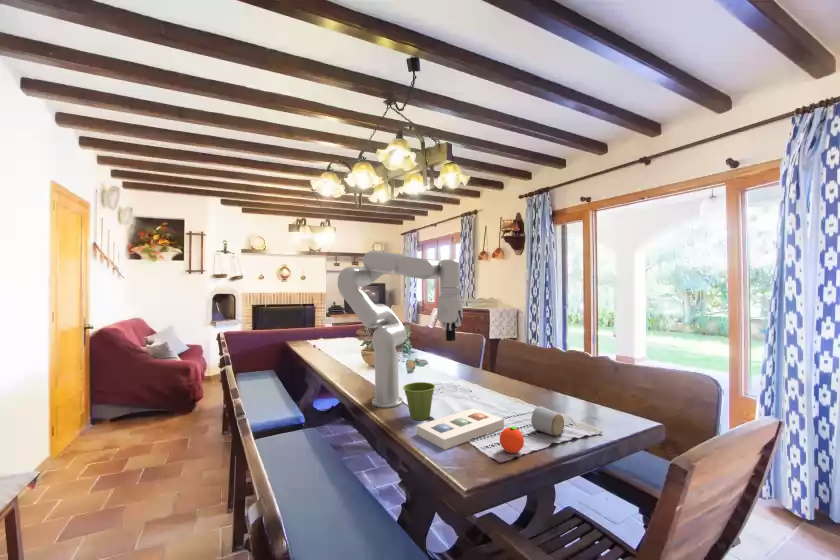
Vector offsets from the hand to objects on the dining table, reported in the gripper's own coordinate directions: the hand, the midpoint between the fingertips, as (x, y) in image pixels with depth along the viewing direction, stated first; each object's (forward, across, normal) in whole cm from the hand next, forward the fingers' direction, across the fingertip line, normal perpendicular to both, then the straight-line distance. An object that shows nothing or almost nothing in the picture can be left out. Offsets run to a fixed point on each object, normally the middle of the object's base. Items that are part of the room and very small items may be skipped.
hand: (450, 340), depth 145 cm
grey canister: (+27, +34, +13) cm, 45 cm away
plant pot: (+27, -3, -13) cm, 30 cm away
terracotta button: (+27, +16, -2) cm, 31 cm away
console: (+27, +16, -10) cm, 33 cm away
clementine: (+27, +36, -8) cm, 46 cm away
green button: (+27, +16, -10) cm, 33 cm away
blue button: (+27, +16, -18) cm, 36 cm away
